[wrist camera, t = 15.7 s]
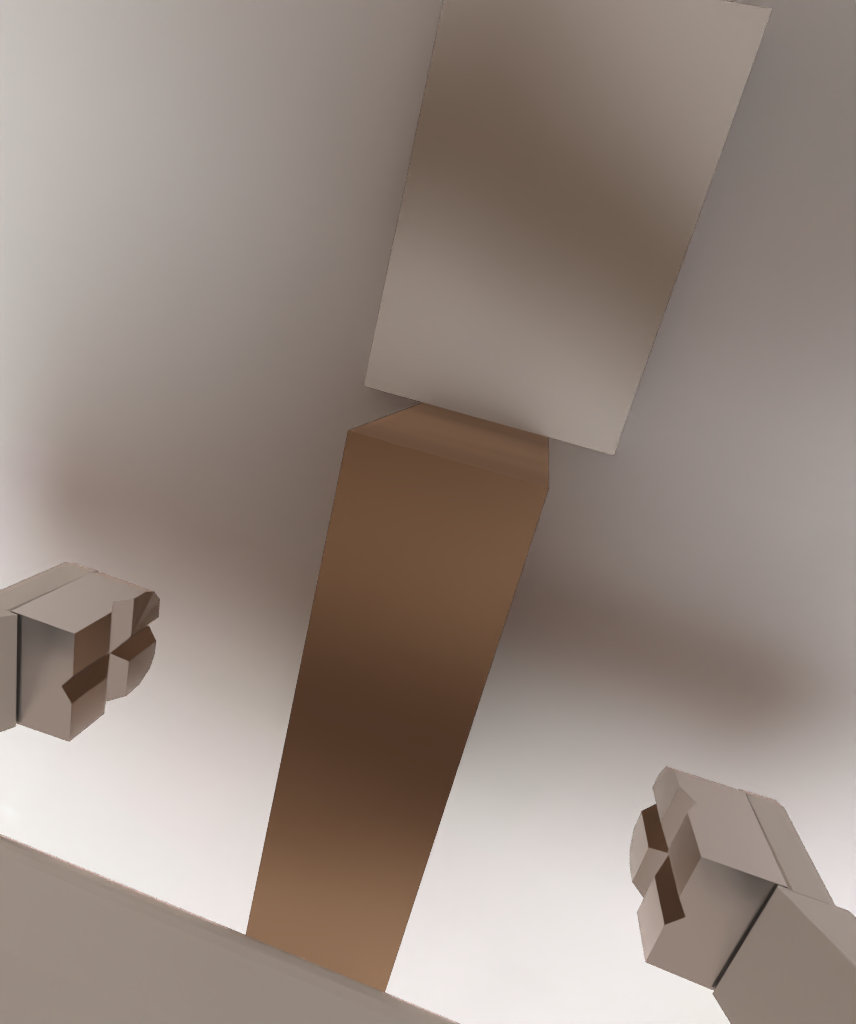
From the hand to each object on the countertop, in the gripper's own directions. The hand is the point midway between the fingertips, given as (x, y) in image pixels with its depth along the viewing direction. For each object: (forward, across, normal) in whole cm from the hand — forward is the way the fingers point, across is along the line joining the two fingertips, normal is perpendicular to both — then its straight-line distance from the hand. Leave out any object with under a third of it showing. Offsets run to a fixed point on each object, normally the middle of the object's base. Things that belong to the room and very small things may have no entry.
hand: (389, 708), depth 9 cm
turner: (+4, 0, -4) cm, 6 cm away
